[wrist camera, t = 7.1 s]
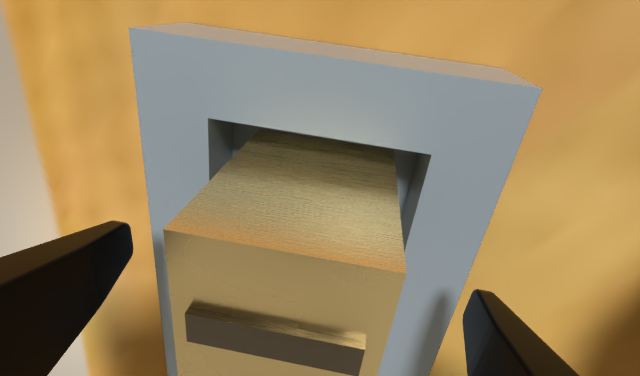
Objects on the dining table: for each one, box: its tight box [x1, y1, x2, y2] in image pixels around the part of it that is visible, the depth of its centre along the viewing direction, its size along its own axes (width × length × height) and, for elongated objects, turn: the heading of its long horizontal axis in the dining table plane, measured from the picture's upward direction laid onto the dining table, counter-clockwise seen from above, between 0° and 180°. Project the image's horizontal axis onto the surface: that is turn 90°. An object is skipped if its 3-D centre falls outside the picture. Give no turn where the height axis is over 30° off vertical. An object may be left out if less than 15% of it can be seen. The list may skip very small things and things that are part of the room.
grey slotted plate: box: [129, 22, 542, 376], centre depth 15 cm, size 22×10×3 cm, turn 173°
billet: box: [163, 129, 406, 376], centre depth 10 cm, size 4×4×6 cm
